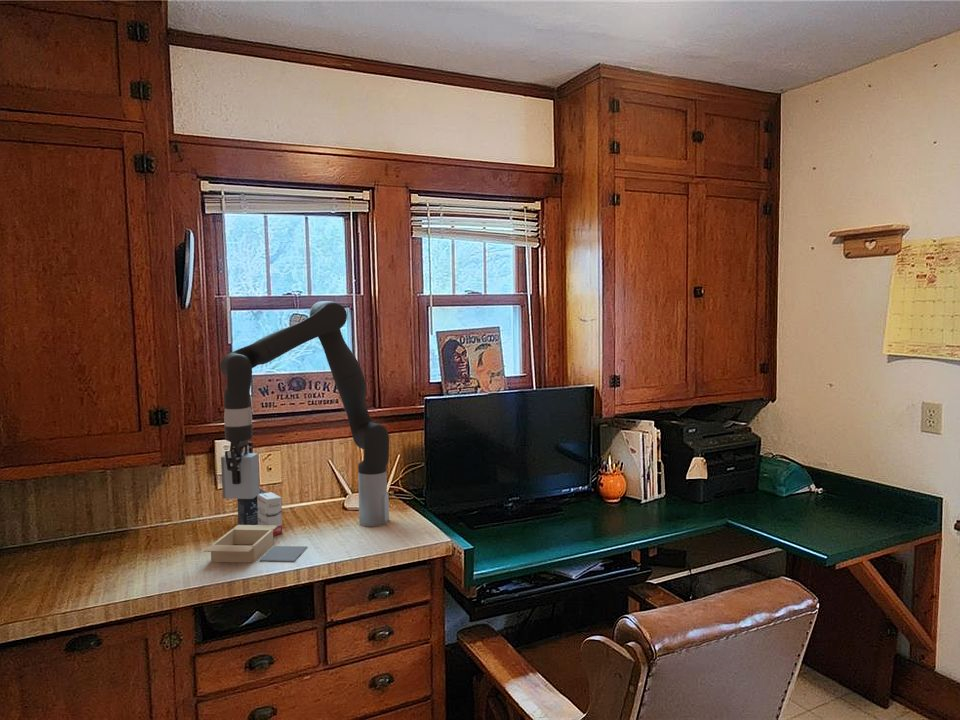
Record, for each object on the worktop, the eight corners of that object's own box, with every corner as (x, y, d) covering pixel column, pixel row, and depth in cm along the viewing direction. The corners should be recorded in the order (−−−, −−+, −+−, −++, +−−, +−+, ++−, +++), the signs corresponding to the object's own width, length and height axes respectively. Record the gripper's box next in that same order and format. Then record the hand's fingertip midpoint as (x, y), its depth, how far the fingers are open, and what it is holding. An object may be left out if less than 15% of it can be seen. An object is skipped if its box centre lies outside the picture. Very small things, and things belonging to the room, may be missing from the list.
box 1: (259, 493, 193) (258, 453, 192) (252, 498, 188) (251, 457, 187) (230, 493, 193) (228, 453, 192) (222, 498, 188) (220, 457, 187)
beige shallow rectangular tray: (278, 539, 202) (277, 525, 202) (249, 567, 181) (248, 551, 180) (238, 539, 203) (237, 524, 203) (204, 566, 181) (203, 550, 181)
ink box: (283, 533, 208) (281, 496, 207) (267, 536, 205) (266, 499, 204) (272, 526, 214) (271, 490, 214) (257, 529, 211) (256, 493, 210)
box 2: (245, 527, 213) (244, 495, 213) (237, 523, 217) (236, 492, 217) (268, 522, 219) (267, 491, 218) (260, 518, 223) (259, 487, 222)
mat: (307, 547, 195) (307, 546, 195) (294, 562, 184) (294, 560, 184) (274, 547, 196) (274, 545, 196) (259, 561, 185) (259, 560, 185)
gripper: (240, 427, 181) (243, 488, 183) (261, 418, 196) (263, 475, 197) (214, 427, 182) (216, 488, 183) (236, 418, 196) (238, 474, 198)
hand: (240, 481), depth 190 cm, fingers closed on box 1, 5 cm apart
